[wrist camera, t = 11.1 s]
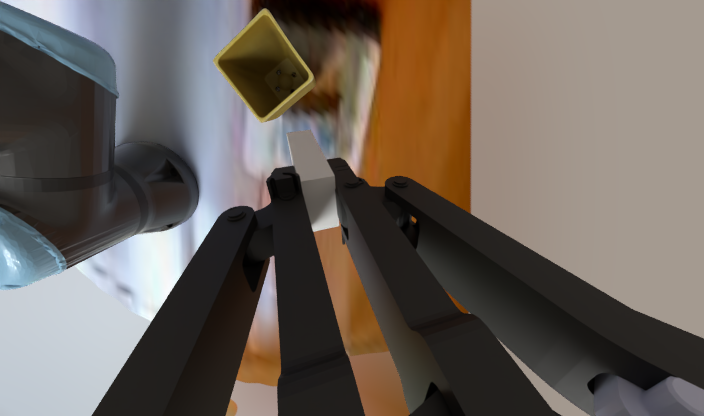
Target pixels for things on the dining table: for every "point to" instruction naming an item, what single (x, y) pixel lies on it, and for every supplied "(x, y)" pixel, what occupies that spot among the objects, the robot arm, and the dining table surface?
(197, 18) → the dining table surface
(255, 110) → the flower pot
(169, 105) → the dining table surface
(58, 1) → the dining table surface
